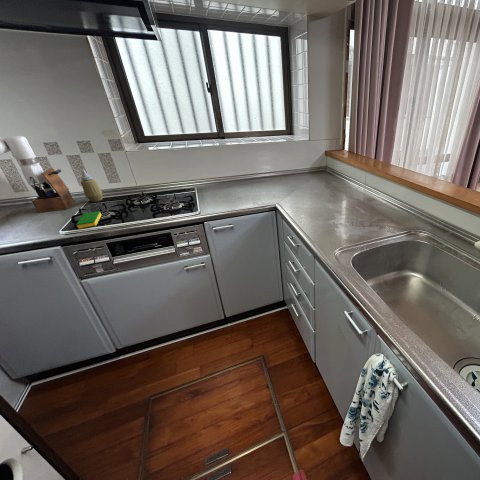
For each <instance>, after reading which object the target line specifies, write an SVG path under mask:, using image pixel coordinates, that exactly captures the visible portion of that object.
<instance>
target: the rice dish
mask: <svg viewBox="0 0 480 480" xmlns="http://www.w3.org/2000/svg"><path fill="white" fill-rule="evenodd" d="M43 189H44V188H43ZM44 191H45V193H46V195H47V197H49V196H52V195H53V194H55V190H54V189H53V188H52V187H51V188H48V189H44ZM35 193H36V195H37V196H38V194H37V192H36V191H35Z"/></svg>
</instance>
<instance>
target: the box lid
mask: <svg viewBox="0 0 480 480" xmlns="http://www.w3.org/2000/svg"><path fill="white" fill-rule="evenodd" d="M43 171H44V172H42V173H41V174H42V175H43V176H44V178H45V179H46V180H47V181H48V183H49V184H50V186H51V188H52V189H53V190H54V191H55V192H56V193H57V194H58V195H59V197H61V196H62V195H63V194H65V193H66V192H67V191H70V189H69V187H68V186H67V185H66V183H65V182H64V180H63V179H62V178H61V177H60V175H59V174H60V173H62V170H61V169H60V168H58V169H56V170H55V169H54V167H50V168H48V169H46V170H43Z"/></svg>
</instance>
